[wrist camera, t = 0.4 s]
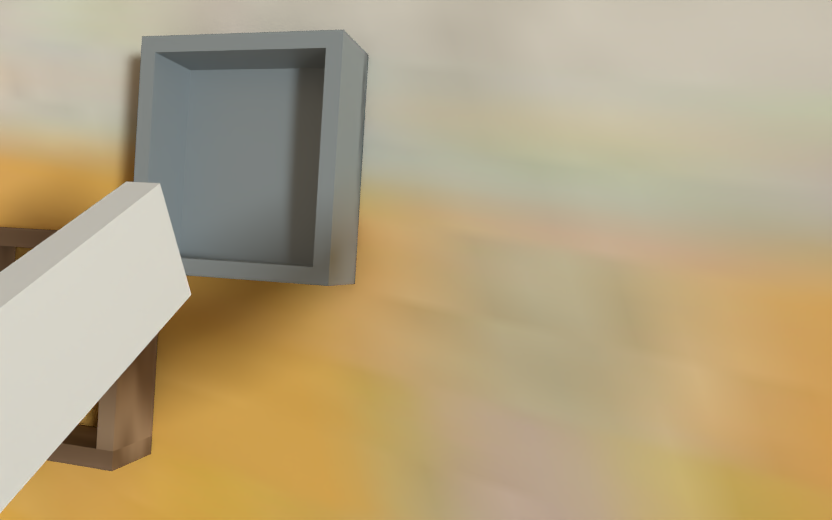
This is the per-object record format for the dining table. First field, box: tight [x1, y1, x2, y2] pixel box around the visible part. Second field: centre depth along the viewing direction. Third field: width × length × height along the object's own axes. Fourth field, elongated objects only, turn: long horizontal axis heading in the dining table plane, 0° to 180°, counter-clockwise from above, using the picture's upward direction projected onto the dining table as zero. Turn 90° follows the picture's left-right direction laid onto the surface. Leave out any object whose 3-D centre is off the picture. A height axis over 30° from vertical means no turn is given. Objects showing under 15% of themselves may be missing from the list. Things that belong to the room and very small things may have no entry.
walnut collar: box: [0, 227, 158, 471], centre depth 34 cm, size 12×11×3 cm
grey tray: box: [134, 30, 368, 286], centre depth 31 cm, size 12×11×4 cm
